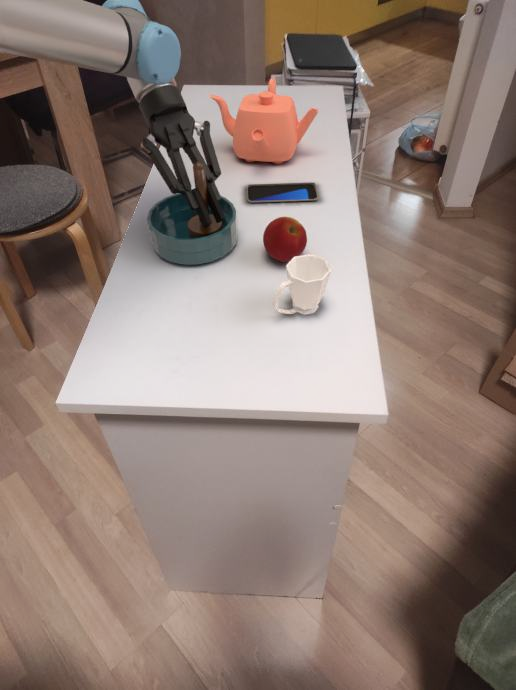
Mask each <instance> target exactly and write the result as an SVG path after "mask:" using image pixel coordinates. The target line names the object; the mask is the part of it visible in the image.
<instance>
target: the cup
mask: <svg viewBox="0 0 516 690" xmlns="http://www.w3.org/2000/svg"><path fill="white" fill-rule="evenodd" d="M285 271H286V276H287V280H285V281H283V282H282V283H281V284H279V286H278V287H277V289H276V290H275V291H274V295H273V300H272V306H273V309H275V311H277V312H279V313H280V314H286V315H292V314H296V313H298V314H301V315H304V316H305V315H309V314H314V313H315V312H316V311H317V310H318V309H319V307H320V306H319V303H320V302H321V301H322V298H323V296H324V293H325V291H326V287H327V284H328V281H329V278H330V275H331V272H332V269H331V266H330V264H329V263H328V261H327V260H326V259H325V258H323V257H320V256H318V255H315V254H311V253H308V254H300V255H299V256H295V257H293V258H292V260H291V261H288V263H286V265H285ZM287 287H288V291H289V294H290V297H291V300H292V302H291V305H292V308H291V309H283V308H279V307H278V301H279V298H280V295H281V294H282V292H283V291H284V290H285V289H286V288H287Z"/></svg>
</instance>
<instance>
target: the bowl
mask: <svg viewBox="0 0 516 690" xmlns="http://www.w3.org/2000/svg"><path fill="white" fill-rule="evenodd" d="M220 196H221V200H220V201H219V205H220V207H221V209H222V211H223V214H224V216H225V218H224V219H223V220H222V230H220V231H219V232H216V233H214V234H211V235H209V236H206V237H200V238H195V239H190V237H189V231H188V222H189V220H190V219H191V218H193V217H194V216H197V215H198V214H197V211H196V210H194V211H192V210H191V209H190V207H189V205H188V203H187V200H186V198H185V196H182V195H181V193H176V194H171V195H169V196H167V197H166V196H165V197H164V198H162V199H161V200H159V201H158V202H156V203H155V204H153V206H152V207H151V208H150V209H149V211H148V214H147V217H146V222H147V226H148V231H149V236H150V241H151V245H152V248H153V251H155V253H156V254H157V255H158V256H159V257H160V258H162V259H164V260H165V261H168V262H171V263H175V264H179V265H201V264H206V263H211V262H214V261H217V260H219V259H221V258H223V257H225V256H227V255H228V254H229V253H230V252H231V251H232V250H233V249H234V247H235V246H236V245H237V242H238V218H237V210H236V207H235V206H234V203H233V202H231V201H230V200H229V199H228V198H227V197H224V196H222V195H220ZM208 206H209V204H208ZM209 214H212V215H213V213H212V211H211V209H210V207H209Z"/></svg>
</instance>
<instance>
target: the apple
mask: <svg viewBox="0 0 516 690" xmlns="http://www.w3.org/2000/svg"><path fill="white" fill-rule="evenodd" d="M269 222H270V223H268V224H267V225H266V227H265V229H264V231H263V235H262V243H263V247H264V249H265V251H266V253H267V254H268V255H269V256H270V257H271V258H272V259H274V260H276V261H277V262H280V263H287V262H290V261H291V260H292V258H293V257H295V256H301V255H302V253H303V252H304V251H305V249H306V247H307V245H308V237H307V235H308V234H307V231H306V228H305V227H304V226H303V224H302V223H300V221H298V220H297V219H296V218H294V217H290V216H280V217H279V216H278V217H277V218H275V219H273V220H272V221H269Z"/></svg>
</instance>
